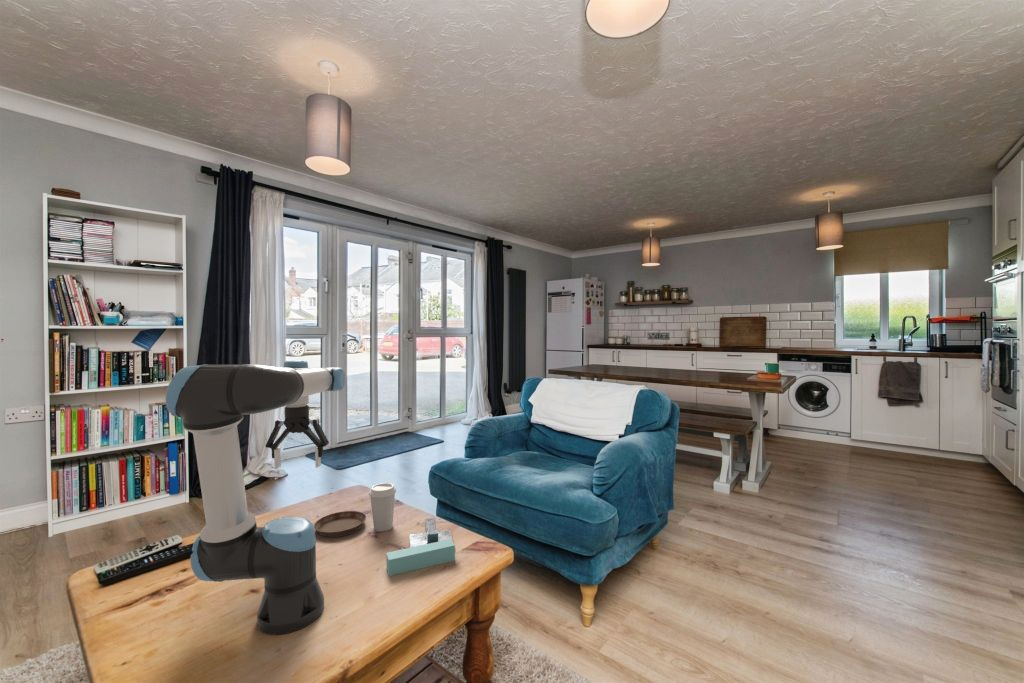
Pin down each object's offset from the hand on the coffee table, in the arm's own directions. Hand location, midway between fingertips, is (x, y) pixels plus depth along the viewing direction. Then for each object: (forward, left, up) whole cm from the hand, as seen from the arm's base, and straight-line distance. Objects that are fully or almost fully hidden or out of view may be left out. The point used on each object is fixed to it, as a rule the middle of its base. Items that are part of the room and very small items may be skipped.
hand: (298, 467), depth 149 cm
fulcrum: (-16, -44, -25) cm, 53 cm away
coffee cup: (+1, -28, -25) cm, 37 cm away
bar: (-28, -40, -25) cm, 55 cm away
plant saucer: (+5, -13, -26) cm, 29 cm away
